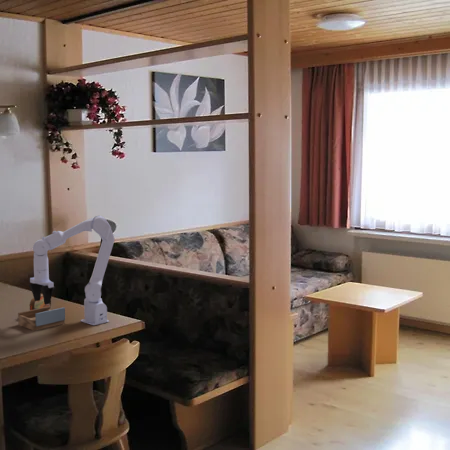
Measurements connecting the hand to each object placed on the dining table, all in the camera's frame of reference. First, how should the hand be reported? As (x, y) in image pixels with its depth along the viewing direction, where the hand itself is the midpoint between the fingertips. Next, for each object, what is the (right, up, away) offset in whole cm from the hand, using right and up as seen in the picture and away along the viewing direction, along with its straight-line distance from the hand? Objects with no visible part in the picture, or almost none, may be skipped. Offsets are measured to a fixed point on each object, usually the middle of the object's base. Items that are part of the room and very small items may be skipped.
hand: (42, 302), depth 254 cm
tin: (-6, -8, +17) cm, 20 cm away
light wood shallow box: (-1, -9, +2) cm, 9 cm away
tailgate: (+4, -8, -3) cm, 9 cm away
